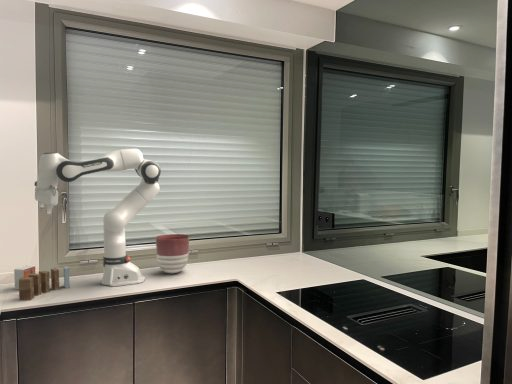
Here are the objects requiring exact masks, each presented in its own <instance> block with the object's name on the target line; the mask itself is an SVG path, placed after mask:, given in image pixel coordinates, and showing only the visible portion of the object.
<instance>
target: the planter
mask: <svg viewBox="0 0 512 384" xmlns="http://www.w3.org/2000/svg"><path fill="white" fill-rule="evenodd" d="M155 248H156V250H155V251H156V259H157V260H156V261H157V263H158V264H157V265H158V266H159V268H160V270H162V271H163V272H164V273H167V274H177V273H179V272H180V273H181V271H183V270H184V269H185V268H186V266H187V264H188V261H189V254H190V253H189V252H190V251H189V249H190V236H189V235H187V234H179V233H178V234H177V233H174V234H173V233H171V234H163V235H162V234H161V235H157V236H156V237H155Z"/></svg>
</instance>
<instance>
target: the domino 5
mask: <svg viewBox="0 0 512 384" xmlns="http://www.w3.org/2000/svg"><path fill="white" fill-rule="evenodd" d="M63 282H64V283H63V284H64V288H65V289H68V288H70V282H71V281H70V268H69V266H68V265H67V266H63Z"/></svg>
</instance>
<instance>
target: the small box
mask: <svg viewBox="0 0 512 384" xmlns="http://www.w3.org/2000/svg"><path fill="white" fill-rule="evenodd" d="M13 273H14V276H13V277H14V290H17V291H19V279H20V278H22V277H29V274H36V266H34V265H25V266H22V267H19V268H14V269H13Z"/></svg>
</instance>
